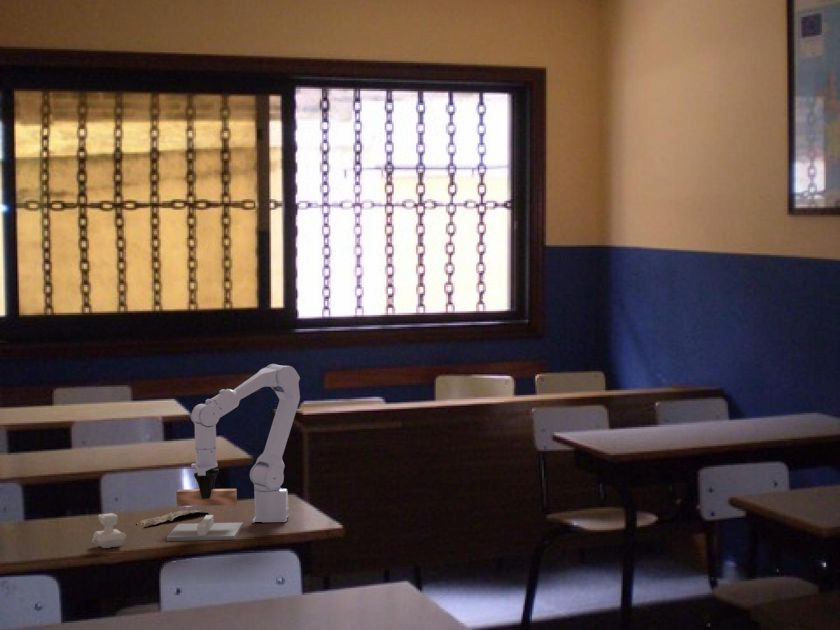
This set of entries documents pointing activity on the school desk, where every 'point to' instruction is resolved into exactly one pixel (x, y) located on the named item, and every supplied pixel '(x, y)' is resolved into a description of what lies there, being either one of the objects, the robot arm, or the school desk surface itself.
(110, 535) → the stamp
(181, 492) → the stick
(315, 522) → the school desk surface
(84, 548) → the school desk surface
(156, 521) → the stone fragment
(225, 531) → the board
